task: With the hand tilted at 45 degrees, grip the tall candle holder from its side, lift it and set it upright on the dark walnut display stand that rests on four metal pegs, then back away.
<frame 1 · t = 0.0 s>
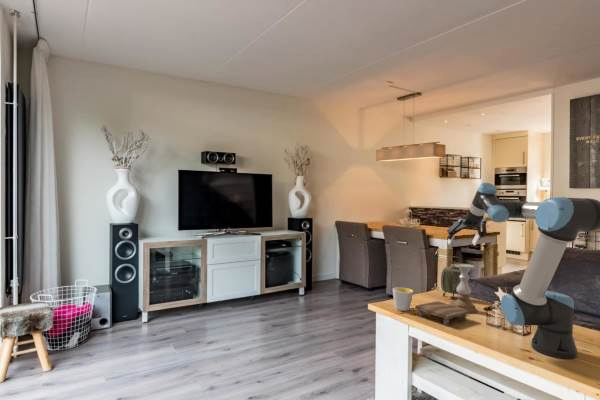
hand: (461, 243, 195), 36 cm above the table, tool tilted 35°, fingers open, 13 cm apart
candle holder: (462, 310, 201), on the table
walnut stand: (441, 318, 185), on the table
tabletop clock: (453, 298, 223), on the table
mug: (404, 309, 198), on the table
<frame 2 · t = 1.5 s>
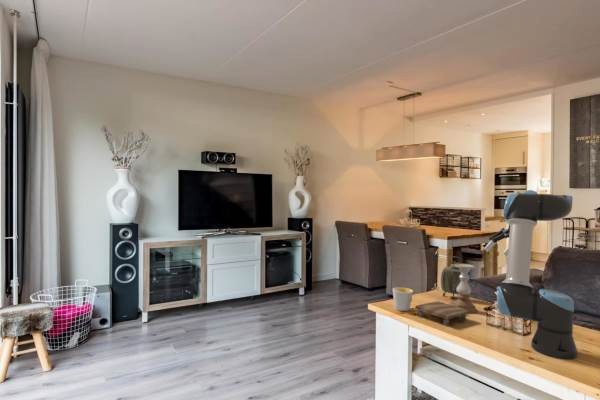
hand: (495, 252, 201), 31 cm above the table, tool tilted 45°, fingers open, 13 cm apart
nothing on the table moved.
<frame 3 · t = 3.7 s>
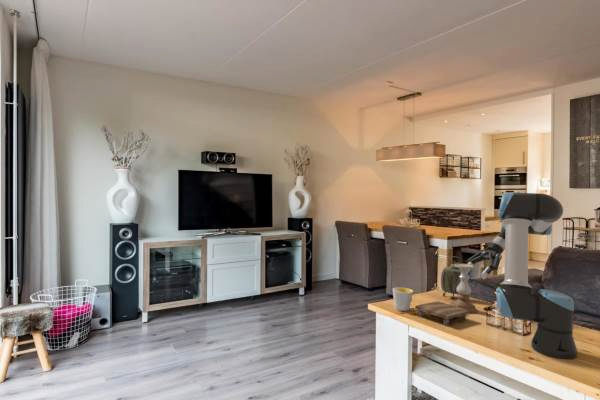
hand: (472, 274, 203), 19 cm above the table, tool tilted 45°, fingers open, 13 cm apart
nothing on the table moved.
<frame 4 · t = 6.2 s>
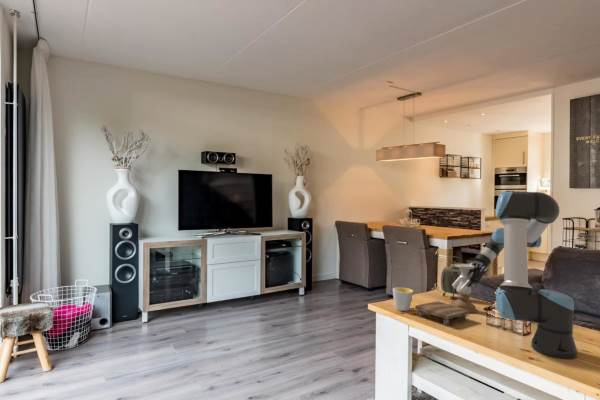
hand: (458, 288, 200), 11 cm above the table, tool tilted 45°, fingers closed on candle holder, 6 cm apart
candle holder: (462, 310, 201), on the table, touching gripper
everything else where it was.
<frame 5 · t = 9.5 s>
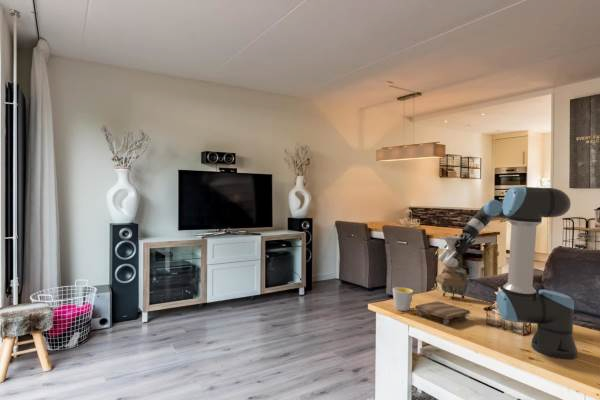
hand: (444, 260, 191), 27 cm above the table, tool tilted 45°, fingers closed on candle holder, 6 cm apart
candle holder: (449, 283, 192), point 16 cm above the table, touching gripper
everything else where it was.
when the fingers open (18 cm above the table, at t = 12.7 s): candle holder drops 1 cm, resting on walnut stand.
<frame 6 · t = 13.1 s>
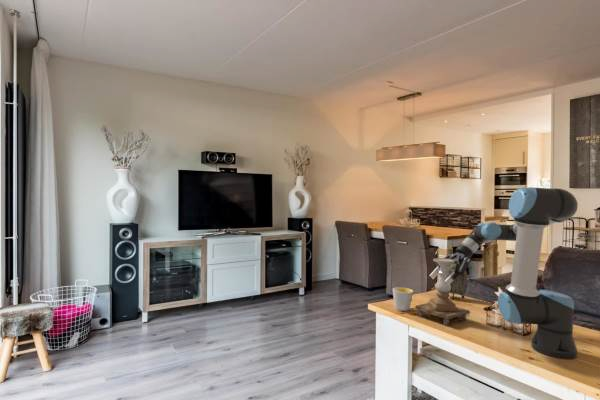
hand: (438, 280, 184), 19 cm above the table, tool tilted 45°, fingers open, 11 cm apart
candle holder: (442, 308, 185), point 5 cm above the table, touching walnut stand
everything else where it was.
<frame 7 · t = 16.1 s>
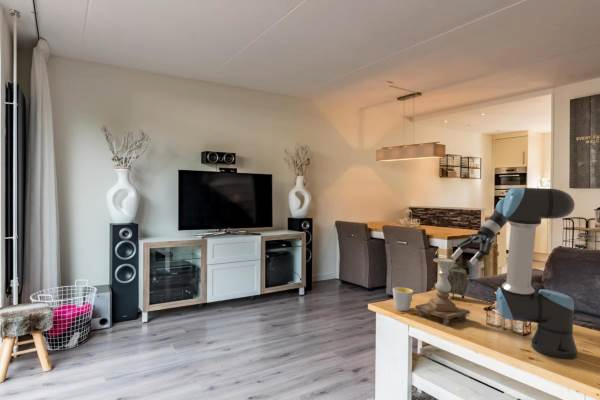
hand: (461, 260, 187), 28 cm above the table, tool tilted 45°, fingers open, 13 cm apart
nothing on the table moved.
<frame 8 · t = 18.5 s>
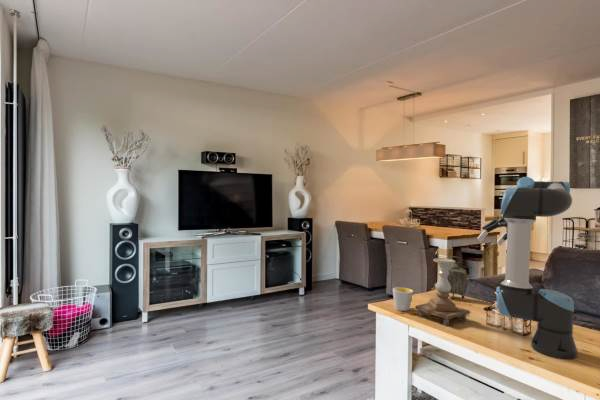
hand: (488, 241, 192), 38 cm above the table, tool tilted 45°, fingers open, 13 cm apart
nothing on the table moved.
at the end: candle holder inside the target area on the walnut stand (0.0 cm from its centre), point 4.8 cm above the walnut stand's base; candle holder tilted 0°; the gripper is holding nothing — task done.
